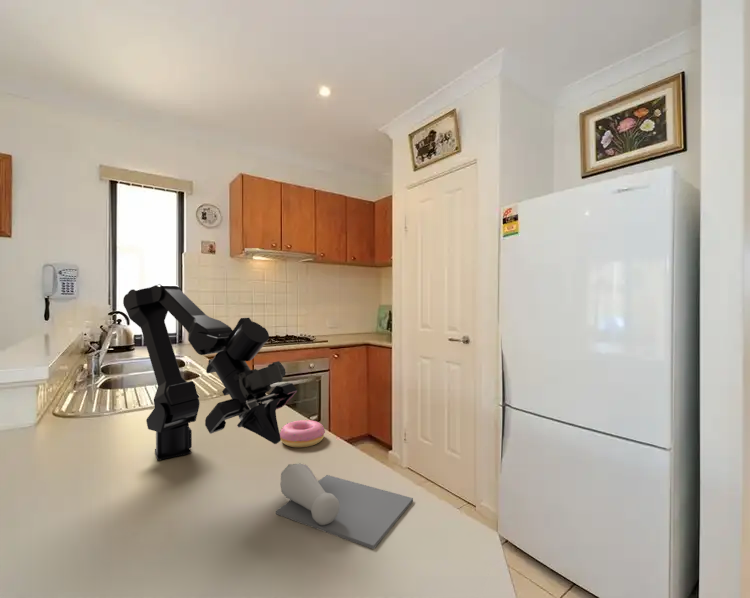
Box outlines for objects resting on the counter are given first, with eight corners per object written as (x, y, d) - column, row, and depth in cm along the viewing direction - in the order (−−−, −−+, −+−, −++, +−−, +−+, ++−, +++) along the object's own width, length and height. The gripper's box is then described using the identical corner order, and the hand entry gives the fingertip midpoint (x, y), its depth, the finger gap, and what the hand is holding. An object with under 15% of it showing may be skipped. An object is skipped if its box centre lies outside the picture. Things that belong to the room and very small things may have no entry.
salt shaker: (274, 496, 65) (311, 539, 55) (275, 463, 64) (313, 501, 54) (304, 485, 68) (345, 524, 58) (306, 455, 68) (347, 488, 58)
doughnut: (309, 430, 100) (309, 414, 100) (334, 441, 92) (334, 424, 92) (271, 440, 92) (271, 423, 92) (294, 454, 84) (294, 435, 84)
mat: (275, 513, 61) (275, 510, 61) (326, 477, 73) (326, 474, 73) (373, 549, 52) (373, 545, 52) (412, 501, 64) (412, 498, 64)
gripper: (216, 356, 64) (264, 433, 59) (290, 344, 80) (332, 403, 75) (186, 396, 68) (228, 471, 63) (263, 377, 84) (301, 435, 79)
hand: (278, 442), depth 70 cm, fingers closed
